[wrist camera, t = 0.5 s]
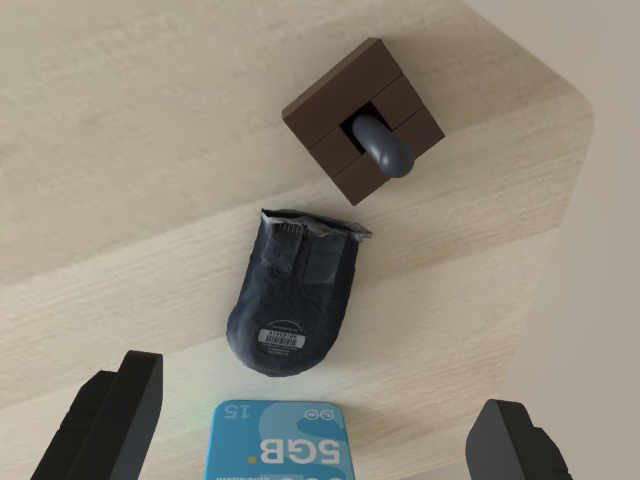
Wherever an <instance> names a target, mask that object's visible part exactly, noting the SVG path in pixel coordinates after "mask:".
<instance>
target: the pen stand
mask: <svg viewBox="0 0 640 480" xmlns="http://www.w3.org/2000/svg"><path fill="white" fill-rule="evenodd" d="M367 102H368V104H369V105H370V106H371V108H372V109H373V111H374V112H375V113H376V115H377V116H378V117H379V119H380V120H381V121H382V122H381V123H382V124H383V125H384V126H385V127H386V128H388V129H389V130H390V131H391V132H392V133H393V134H395V135H396V136H397V137H398V138H399V139H400V140H402V141H403V142H404V143H405V144H406V145H407V146H409V147H410V149H411V150H412V152H413V154H414V160H415V159H417V158H418V157H419V156H421V155H422V154H423V153H424V152H426V151H427V150H428V149H430V148H431V147H432V146H434V145H435V144H436V143H438V142H439V141H440V140H441V139H443V138H444V137H445V135H444V133H443V132H442V130H441V129H440V127H439V126H438V124H437V123H436V121H435V120H434V118H433V117H432V115H431V114H430V112H429V111H428V109H427V108H426V106H424V103H423V102H422V100H421V99H420V97H419V96H418V94H417V93H416V91H415V90H414V88H413V87H412V85H411V84H410V82H409V81H408V79H407V78H406V76H405V75H404V74H403V72H402V70H401V69H400V67H399V66H398V64H397V63H396V61H395V60H394V58H393V57H392V55H391V54H390V52H389V51H388V50H387V48H386V47H385V45H384V44H383V42H382V41H381V39H380V38H368V39H367V40H366V41H364V42H363V43H362V44H361V45H360V46H359V47H357V48H356V49H355V50H354V51H353V52H351V53H350V54H349V55H348V56H347V57H345V58H344V59H343V60H342V61H341V62H339V63H338V64H337V65H336V66H335V67H334V68H332V69H331V70H330V71H329V72H328V73H326V74H325V75H324V76H323V77H322V78H320V79H319V80H318V81H317V82H316V83H315V84H313V85H312V86H311V87H310V88H309V89H307V90H306V91H305V92H304V93H303V94H301V95H300V96H299V97H298V98H297V99H296V100H294V101H293V102H292V103H291V104H290V105H288V106H287V107H286V108H285V109H284V110H282V117H283V121H284V122H285V123H286V125H287V126H288V127H289V128H290V130H291V131H292V132H293V133H294V134H295V136H296V137H297V138H298V139H299V140H300V142H301V143H302V144H303V145H304V147H305V148H306V149H307V150H308V151H309V153H310V154H311V155H312V156H313V158H314V159H315V160H316V161H317V162H318V164H319V165H320V166H321V167H322V169H323V170H324V171H325V172H326V173H327V175H328V176H329V177H330V178H331V179H332V181H333V182H334V183H335V184H336V186H337V187H338V188H339V189H340V191H341V192H342V193H343V194H344V195H345V197H346V198H347V199H348V200H349V202H350V203H351V204H352V205H353V206H355V205H357V204H358V203H359V202H360V201H362V200H363V199H364V198H366V197H367V196H368V195H370V194H371V193H372V192H374V191H375V190H376V189H377V188H379V187H380V186H381V185H383V184H384V183H385V182H387V181H388V180H389V179H391V178H392V177H389V176H387V175H386V174H385V173H384V172H383V171H382V170H381V169H380V168H379V166H378V165H377V164H376V162H375V161H374V160H373V159H372V157H371V156H370V155H369V153H368V152H367V151H366V150H365V148H364V147H363V146H362V145H361V143H360V142H359V141H358V142H356V143H355V144H354V143H353V142H352V141H351V140H350V138H349V137H348V136H347V134H346V133H345V132H344V130H343V129H342V128H341V126H340V124H341V123H343V122H344V121H345V120H346V119H347V118H349V117H350V116H351V115H352V114H354V113H355V112H356V111H357V110H359V109H360V108H361V107H362V106H363V105H365V104H366V103H367Z"/></svg>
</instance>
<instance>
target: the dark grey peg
mask: <svg viewBox="0 0 640 480" xmlns="http://www.w3.org/2000/svg"><path fill="white" fill-rule="evenodd" d="M347 125H348V127H349V129H350V130H351V132H352V133H353V134H354V136H355V137H356V138H357V139H358V141H359V142H360V143H361V145H362V146H363V147H364V148H365V150H366V151H367V152H368V153H369V155H370V156H371V157H372V159H373V160H374V161H375V162H376V164H377V165H378V166H379V168H380V169H381V170H382V171H383V172H384V173H385V174H386V175H387V176H389V177H392V178H400V177H403V176H405V175H407V174H408V173H409V172H410V171H411V170H412V168H413V165H414V154H413V152H412V150H411V149H410V147H409V146H407V145H406V144H405V143H404V142H403V141H402V140H400V139H399V138H398V137H397V136H396V135H395V134H393V133H392V132H391V131H390V130H389V129H388V128H386V127H385V126H384V125H383V124H382V123H381V122H379V121H378V120H377V119H376V118H375V117H373V116H372V115H371V114H370V113H369V112H368V111H366V110H364V109H359V110H357V111H356V112H355V113H354V114H352V115H351V116H350V117H349V118H348V119H347Z"/></svg>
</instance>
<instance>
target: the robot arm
mask: <svg viewBox="0 0 640 480" xmlns="http://www.w3.org/2000/svg"><path fill="white" fill-rule="evenodd" d="M162 399H163V356H162V354H157V353H149V352H142V351H134V350H129V351H128V352H127V354H126V356H125V357H124V360H123V362H122V364H121V366H120V368H119V370H118V372H111V371H103V370H100V371H99V372H98V373H97V374H96V375H94V376H93V377H92V378H91V379H90V380H89V381H88V382H86V383H85V384H84V385H83V386H82V387H81V388H80V390H79V392H78V394H77V396H76V398H75V399H74V401H73V403H72V405H71V407H70V410H69V412H67V414H66V416H65V418H64V419H63V421H62V423H61V425H60V429H59V430H57V432H56V434H55V436H54V438H53V439H52V441H51V443H50V445H49V447H48V448H47V450H46V452H45V454H44V456H43V458H42V459H41V461H40V463H39V465H38V467H37V468H36V470H35V472H34V474H33V476H32V477H31V479H30V480H138V477H139V474H140V471H141V468H142V465H143V463H144V460H145V457H146V454H147V451H148V448H149V445H150V443H151V440H152V437H153V434H154V431H155V428H156V425H157V422H158V419H159V415H160V411H161V406H162ZM466 460H467V465H468V468H469V472H470V476H471V479H472V480H573V479H572V477H571V475H570V474H569V473H568V468H567V466H566V463H565V461H564V459H563V457H562V455H561V453H560V450H559V448H558V447H557V446H556V445H555V443H554V442H553V441H552V440H551V439H550V437H549V436H548V435H547V434H546V433H545V432H544V430H543V429H542V428H537V427H534V426H533V424H532V422H531V419H530V417H529V415H528V412H527V410H526V408H525V407H524V405H522V404H521V403H518V402H511V401H503V400H496V399H489V400H488V401H487V402H486V403H485V405H484V407H483V409H482V411H481V412H480V414H479V416H478V418H477V420H476V422H475V424H474V425H473V427H472V429H471V431H470V433H469V435H468V437H467V441H466Z"/></svg>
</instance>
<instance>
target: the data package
mask: <svg viewBox="0 0 640 480" xmlns="http://www.w3.org/2000/svg"><path fill="white" fill-rule="evenodd" d="M203 480H355V474H354V469H353V464H352V458H351V453H350V448H349V442H348V437H347V432H346V426H345V421H344V416H343V413H342V411H341V410H340V409H339V408H338V407H337V406H335V405H333V404H331V403H325V402H283V401H239V400H231V401H226V402H223V403H221V404H220V405H218V406H217V407H216V409H215V410H214V413H213V419H212V425H211V432H210V438H209V445H208V452H207V458H206V465H205V472H204V478H203Z"/></svg>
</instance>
